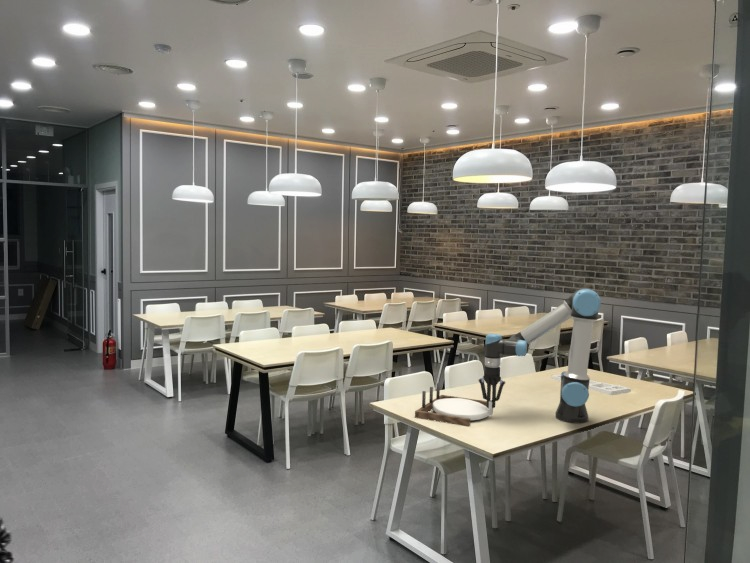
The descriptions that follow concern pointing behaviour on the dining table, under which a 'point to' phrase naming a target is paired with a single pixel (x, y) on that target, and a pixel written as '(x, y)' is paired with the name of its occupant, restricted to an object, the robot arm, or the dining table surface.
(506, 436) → the dining table surface
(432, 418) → the plate rack
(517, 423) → the dining table surface
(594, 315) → the robot arm
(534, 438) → the dining table surface
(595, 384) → the holder
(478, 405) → the plate
